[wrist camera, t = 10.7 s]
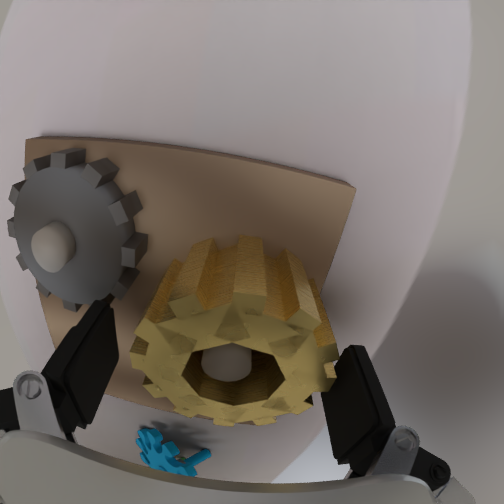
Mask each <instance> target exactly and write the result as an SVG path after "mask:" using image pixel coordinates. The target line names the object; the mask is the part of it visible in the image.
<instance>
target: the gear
mask: <svg viewBox="0 0 504 504" xmlns="http://www.w3.org/2000/svg"><path fill="white" fill-rule="evenodd" d="M138 434H139V436H140V438H137V439H136V443H137V445H138V446H139V447H140V448H141V449H142V451H143V452H141V453H140V456H141V459H142V460H143V462H145V463H146V464H148V465H149V466H150V467H149V468H153V469H157V470H161V471H165V472H170V473H175V474H180V475H186V476H191V477H194V476H196V475H197V472H196V470H195V468H194V467H193V466H195V465H197V464H198V463H200V462H202V461H204V460H206V459H207V458H209V457H211V453H210V451H209V450H207V449H204V450H202V451H200V452H198V453H196V454H195V455H193V456H191V457H189V458H187V459H185V458H184V457H183V458H181V459H177V460H176V459H175V458H174V456H176V455H178V454H179V453H180V451H179V449H178V448H177V447H176V445H175V444H174V443H173V442H172V441H170V442H167V443H165V444H163V445H161V441H162V440H163V436H162V434H161V433H160V432H159V431H158V430H157V429H155V428H153V429H151V430H149V429H147V428H144V429H141V430H139V431H138Z"/></svg>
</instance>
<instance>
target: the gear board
mask: <svg viewBox="0 0 504 504" xmlns="http://www.w3.org/2000/svg"><path fill="white" fill-rule="evenodd" d="M23 170H24V173H25V180H24V181H21V182H19V183H16V184H14V185H12V189H11V192H10V196H9V200H10V202H11V203H12V204H13V205H14V206H15V210H14V217H12V218H11V219H9V220H7V224H8V232H9V236H10V237H14V238H16V240H17V244H18V247H19V250H20V254H19V255H18V256H17V257H16V259H17V260H18V262H19V264H20V266H21V268H22V270H23V271H24V270H26V269H28V268H29V270H30V271H31V273H32V274H33V276H34V277H35V278H36V283H37V286H36V288H37V289H38V292H39V296H40V300H41V304H42V308H43V311H44V315H45V318H46V322H47V325H48V328H49V332H50V335H51V338H52V341H53V344H54V347H55V350H56V349H57V347H58V346H59V344H60V343H61V341H62V340H63V338H64V337H65V335H66V334H67V333H68V331H69V330H70V329H71V328H72V327H73V326H76V325H77V324H78V322H79V321H80V320H81V318H82V317H83V315H84V314H85V313H86V311H87V310H88V309H89V307H90V306H91V305H92V303H93V302H94V301H95V300H100V301H103V302H107V303H109V304H110V307H111V308H113V309H114V317H115V326H116V334H117V342H118V349H119V360H118V363H117V365H116V367H115V370H114V372H113V374H112V376H111V378H110V381H109V383H108V385H107V388H106V390H105V392H104V393H105V394H108V395H111V396H114V397H117V398H120V399H124V400H127V401H130V402H134V403H137V404H141V405H144V406H148V407H152V408H156V409H160V410H164V411H169V412H173V413H178V412H175V411H173V407H174V404H173V403H172V402H171V401H170V400H169V399H168V398H167V397H160V398H154V397H153V396H152V395H151V394H150V393H149V392H148V391H147V390H146V389H145V388H144V387H143V385H142V384H143V381H144V378H145V375H146V374H145V373H144V372H143V371H142V370H139V369H134V368H132V363H131V358H130V353H129V352H130V349H131V347H132V345H133V343H134V340H135V338H136V336H137V335H136V334H134V333H133V332H134V330H135V328H136V326H137V324H138V322H139V320H140V318H141V316H142V314H143V312H144V310H145V308H146V306H147V304H148V302H149V300H150V298H151V296H152V294H153V292H154V291H155V289H156V287H157V285H158V283H159V281H160V279H161V277H162V275H163V274H164V272H165V270H166V269H167V268H168V266H169V265H170V264H171V262H172V261H173V259H174V258H176V259H177V260H179V261H180V262H181V263H183V262H185V261H186V259H187V256H188V254H189V252H190V250H191V248H192V246H193V244H195V243H198V242H201V241H204V240H206V239H209V238H212V237H213V238H214V240H215V242H216V244H217V246H218V249H219V250H220V249H223V248H226V247H229V246H232V245H234V244H237V243H238V240H239V235H246V236H252V237H259V238H262V243H263V254H266V255H268V256H271V257H273V258H275V259H276V258H277V256H278V255H279V254H280V253H281V252H282V251H283V250H284V249H285V248H286V249H287V250H289V251H290V252H291V253H292V254H294V255H295V256H296V257H297V258H299V259H300V260H301V261H302V264H303V267H304V270H305V273H306V276H307V279H308V280H310V279H313V278H314V281H315V283H316V286H317V289H318V292H319V295H320V292H321V290H322V287H323V284H324V282H325V279H326V277H327V274H328V271H329V269H330V266H331V263H332V261H333V258H334V255H335V252H336V249H337V247H338V244H339V241H340V238H341V235H342V232H343V229H344V226H345V223H346V220H347V217H348V214H349V211H350V208H351V205H352V202H353V199H354V195H355V192H356V188H354V187H353V186H351V185H350V184H348V183H347V182H343V181H340V180H336V179H333V178H329V177H326V176H322V175H318V174H315V173H311V172H307V171H303V170H299V169H295V168H291V167H287V166H283V165H278V164H274V163H269V162H265V161H260V160H256V159H251V158H246V157H241V156H236V155H230V154H225V153H219V152H214V151H208V150H201V149H195V148H188V147H182V146H174V145H167V144H159V143H150V142H141V141H130V140H119V139H105V138H87V137H36V138H31V139H26V144H25V167H24V168H23ZM201 365H202V369H203V370H204V372H205V373H206V374H207V375H209V376H210V377H212V378H214V379H217V380H220V381H237V380H240V379H243V378H245V377H246V376H247V375H248V374H249V373H250V371H251V348H248V347H245V346H242V345H238V344H235V343H228V344H224V345H220V346H216V347H212V348H207V349H204V351H203V356H202V362H201ZM178 414H180V413H178ZM194 417H198V418H204V419H210V420H214V418H211V417H207V416H204V415H200V414H197V415H195V416H194ZM238 423H240V424H250V425H256V424H255V423H254V422H253V421H252V420H251V421H245V422H238Z"/></svg>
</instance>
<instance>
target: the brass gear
mask: <svg viewBox="0 0 504 504" xmlns="http://www.w3.org/2000/svg"><path fill="white" fill-rule="evenodd" d="M133 333H134V334H136V335H137V336H136V338H135V340H134V343H133V345H132V347H131V349H130V352H129V353H130V358H131V363H132V368H134V369H139V370H142V371H143V372H144V373H145V374H146V375H145V378H144V381H143V384H142V385H143V387H144V388H145V389H146V390H147V391H148V392H149V393H150V394H151V395H152V396H153V397H154V398H160V397H167V398H168V399H169V400H170V401H171V402H172V403H173V404H174V407H173V411H175V412H178V413H180V414H182V415H184V416H187V417H189V418H192V417H194V416H195V415H197V414H200V415H204V416H207V417H211V418H214V422H213V424H214V425H222V426H231V427H233V426H234V423H238V422H245V421H251V420H252V421H253V422H254V423H255V424H256V425H257V426H260V425H265V424H271V423H276V416H278V415H282V414H287V413H294V414H297V415H298V414H300V413H302V412H303V411H305V410H307V409H309V408H310V407H312V406H313V400H312V395H311V394H312V393H313V392H328V391H329V390H330V388H331V386H332V385H333V383H334V381H335V380H336V378H337V377H336V373H335V370H334V366H333V363H332V362H333V361H336V360H339V359H340V357H339V353H338V349H337V344H336V341H335V338H334V335H333V332H332V329H331V326H330V323H329V320H328V317H327V314H326V311H325V309H324V306H323V303H322V300H321V297H320V295H319V292H318V289H317V286H316V283H315V281H314V278H313V279H310V280H308V279H307V276H306V273H305V270H304V267H303V264H302V261H301V260H300V259H299V258H297V257H296V256H295V255H294V254H292V253H291V252H290V251H289V250H287V249H286V248H285V249H284V250H283V251H282V252H281V253H280V254H279V255H278V256H277V258H276V259H275V258H273V257H271V256H268V255H266V254H263V243H262V238H259V237H252V236H246V235H239V240H238V243H237V244H234V245H232V246H229V247H226V248H223V249H220V250H219V249H218V246H217V244H216V242H215V240H214V238H213V237H212V238H209V239H206V240H204V241H201V242H198V243H195V244H193V246H192V248H191V250H190V252H189V254H188V256H187V259H186V261H185V262H183V263H181V262H180V261H179V260H177V259H176V258H174V259H173V261H172V262H171V264H170V265H169V266H168V268H167V269H166V270H165V272H164V274H163V275H162V277H161V279H160V281H159V283H158V285H157V287H156V289H155V291H154V292H153V294H152V296H151V298H150V300H149V302H148V304H147V306H146V308H145V310H144V312H143V314H142V316H141V318H140V320H139V322H138V324H137V326H136V328H135V330H134V332H133ZM228 343H235V344H238V345H242V346H245V347H248V348H251V371H250V373H249V374H248V375H247V376H246V377H245V378H243V379H240V380H237V381H220V380H217V379H214V378H212V377H210V376H209V375H207V374H206V373H205V372H204V370H203V369H202V365H201V362H202V356H203V351H204V349H207V348H212V347H216V346H220V345H224V344H228Z"/></svg>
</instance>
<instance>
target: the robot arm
mask: <svg viewBox="0 0 504 504" xmlns="http://www.w3.org/2000/svg"><path fill="white" fill-rule="evenodd" d="M118 360H119V349H118V342H117V334H116V326H115V317H114V309H113V308H111V307H110V304H109V303H107V302H103V301H100V300H95V301H94V302H93V303H92V305H91V306H90V307H89V309H88V310H87V311H86V313H85V314H84V315H83V317H82V318H81V320H80V321H79V322H78V324H77V325H76V326H73V327H72V328H71V329H70V330H69V331H68V333H67V334H66V335H65V337H64V338H63V340H62V341H61V343H60V344H59V346H58V347H57V349H56V350H55V352H54V353H53V355H52V356H51V358H50V359H49V361H48V362H47V364H46V365H45V367H44V369H43V370H42V372H41V373H38V372H36V371H25V372H22V373H21V374H19V375H18V376H17V377H16V379H15V380H14V383H13V387H11V388H8V389H3V390H0V504H475V499H474V497H473V496H472V495H471V494H470V493H469V492H468V491H467V490H466V489H465V488H464V487H463V486H462V485H461V484H460V483H459V482H458V481H457V480H456V479H455V478H454V477H452V478H450V475H451V473H450V468H449V466H448V465H447V463H446V462H445V461H443V460H442V459H440V458H438V457H436V456H435V455H433V454H431V453H429V452H428V451H426V450H424V449H423V448H421V447H419V445H420V440H419V436H418V434H417V433H416V432H415V430H413V429H412V428H410V427H408V426H398V427H396V426H395V420H394V418H393V415H392V412H391V410H390V407H389V405H388V402H387V399H386V397H385V394H384V392H383V389H382V387H381V384H380V382H379V379H378V377H377V375H376V372H375V370H374V368H373V365H372V363H371V360H370V358H369V356H368V353H367V351H366V349H365V347H364V346H362V345H350V346H349V347H348V348H345V349H344V351H343V353H342V354H341V356H340V359H339V360H338V361H337V363H336V365H335V366H334V370H335V373H336V377H337V378H336V380H335V381H334V383H333V385H332V386H331V388H330V390H329V391H328V392H321V397H322V402H323V407H324V411H325V416H326V421H327V426H328V431H329V435H330V441H331V445H332V451H333V456H334V458H335V459H337V461H338V465H340V464H348V463H349V464H350V470H349V472H348V473H347V475H346V476H345V478H344V479H343V480H334V481H323V482H311V483H286V484H285V483H284V484H271V483H244V482H231V481H221V480H212V479H204V478H198V477H191V476H186V475H180V474H175V473H170V472H165V471H161V470H157V469H153V468H149V467H145V466H141V465H137V464H134V463H130V462H127V461H124V460H121V459H117V458H114V457H111V456H108V455H105V454H102V453H99V452H97V451H94V450H91V449H89V448H86V447H83V446H81V445H78V443H77V440H76V438H75V435H74V433H73V432H74V431H75V429H76V427H77V426H78V427H81V428H83V429H86V426H87V424H91V423H92V421H93V419H94V416H95V414H96V411H97V409H98V407H99V404H100V402H101V399H102V397H103V395H104V392H105V390H106V388H107V385H108V383H109V381H110V378H111V376H112V374H113V372H114V370H115V367H116V365H117V363H118Z"/></svg>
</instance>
